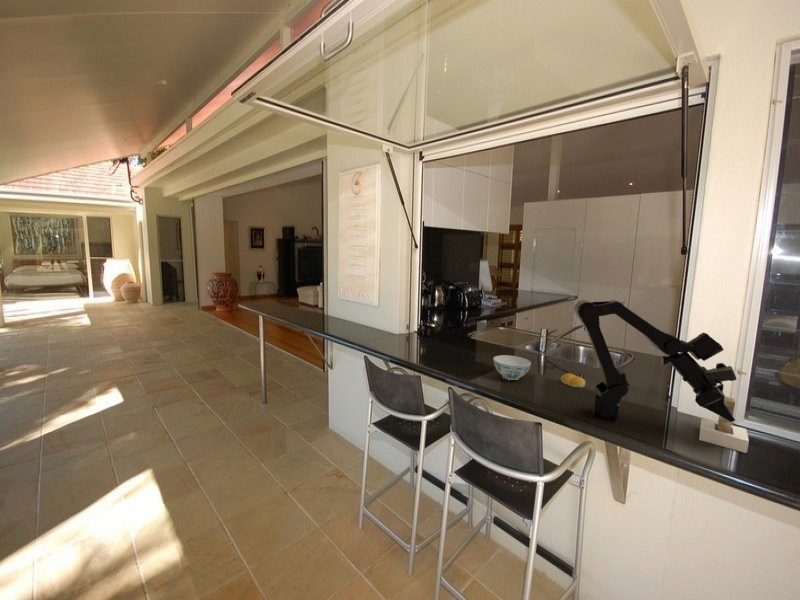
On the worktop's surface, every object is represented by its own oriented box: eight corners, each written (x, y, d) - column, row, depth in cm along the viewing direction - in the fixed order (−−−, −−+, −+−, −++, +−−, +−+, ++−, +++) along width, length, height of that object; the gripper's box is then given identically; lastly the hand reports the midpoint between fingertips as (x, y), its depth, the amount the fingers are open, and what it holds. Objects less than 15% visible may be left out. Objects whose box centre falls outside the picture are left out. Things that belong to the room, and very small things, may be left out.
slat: (716, 441, 103) (723, 400, 102) (715, 435, 107) (722, 395, 105) (728, 444, 102) (735, 402, 100) (727, 438, 105) (734, 398, 104)
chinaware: (533, 377, 152) (534, 360, 151) (523, 387, 140) (525, 368, 139) (498, 369, 160) (500, 353, 159) (487, 378, 148) (488, 360, 147)
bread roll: (577, 389, 141) (579, 379, 140) (557, 382, 148) (558, 373, 148) (589, 386, 145) (590, 376, 145) (569, 379, 153) (570, 370, 152)
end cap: (699, 439, 104) (701, 428, 103) (700, 428, 111) (701, 417, 111) (746, 453, 97) (748, 441, 97) (744, 440, 105) (746, 428, 104)
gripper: (717, 361, 97) (768, 413, 91) (717, 350, 111) (760, 394, 105) (677, 381, 103) (722, 431, 97) (681, 368, 117) (720, 411, 111)
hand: (732, 416), depth 102 cm, fingers open, 9 cm apart
